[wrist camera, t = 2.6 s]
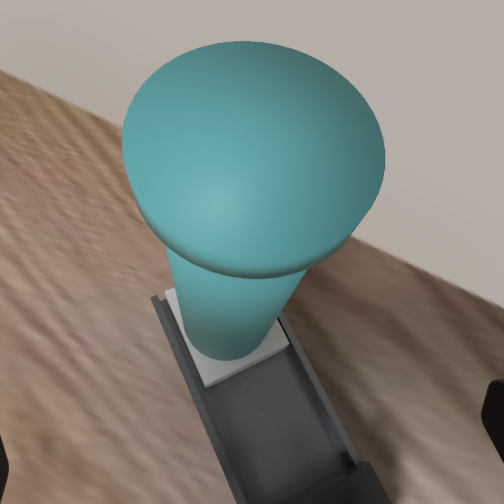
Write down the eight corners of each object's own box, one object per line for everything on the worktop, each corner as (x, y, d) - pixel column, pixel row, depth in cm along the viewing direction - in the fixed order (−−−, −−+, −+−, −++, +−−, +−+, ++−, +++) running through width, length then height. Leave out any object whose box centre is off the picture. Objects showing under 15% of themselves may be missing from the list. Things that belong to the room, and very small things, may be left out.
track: (382, 528, 17) (414, 546, 14) (277, 598, 16) (291, 632, 13) (249, 269, 21) (255, 247, 18) (155, 310, 19) (147, 291, 17)
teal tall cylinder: (286, 348, 18) (435, 197, 6) (200, 391, 17) (186, 307, 5) (246, 268, 19) (306, 18, 8) (163, 304, 18) (84, 79, 6)
